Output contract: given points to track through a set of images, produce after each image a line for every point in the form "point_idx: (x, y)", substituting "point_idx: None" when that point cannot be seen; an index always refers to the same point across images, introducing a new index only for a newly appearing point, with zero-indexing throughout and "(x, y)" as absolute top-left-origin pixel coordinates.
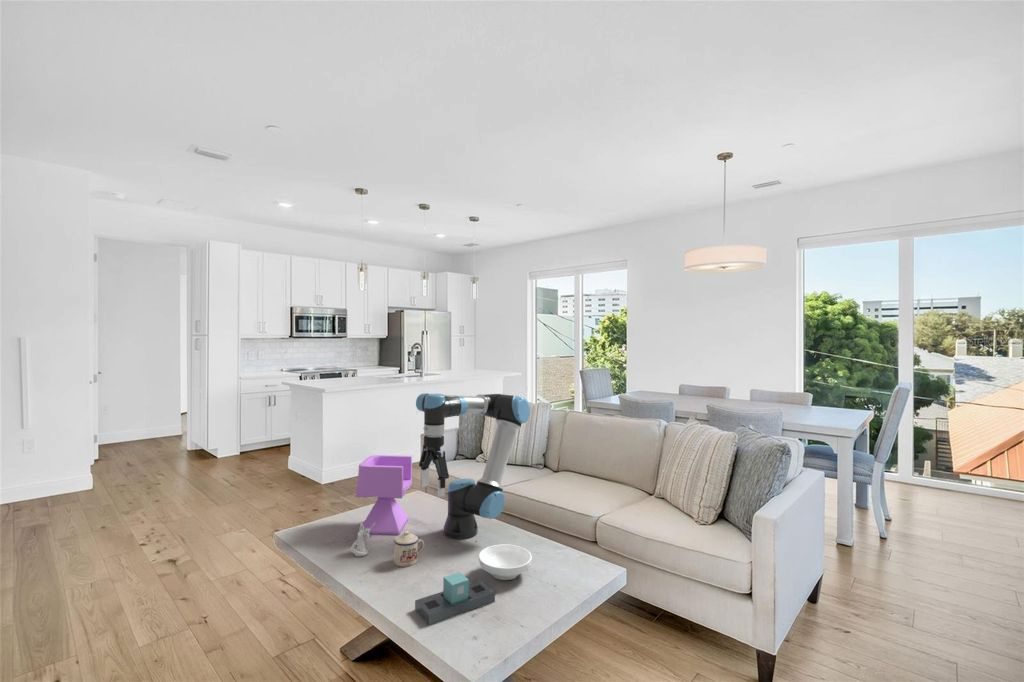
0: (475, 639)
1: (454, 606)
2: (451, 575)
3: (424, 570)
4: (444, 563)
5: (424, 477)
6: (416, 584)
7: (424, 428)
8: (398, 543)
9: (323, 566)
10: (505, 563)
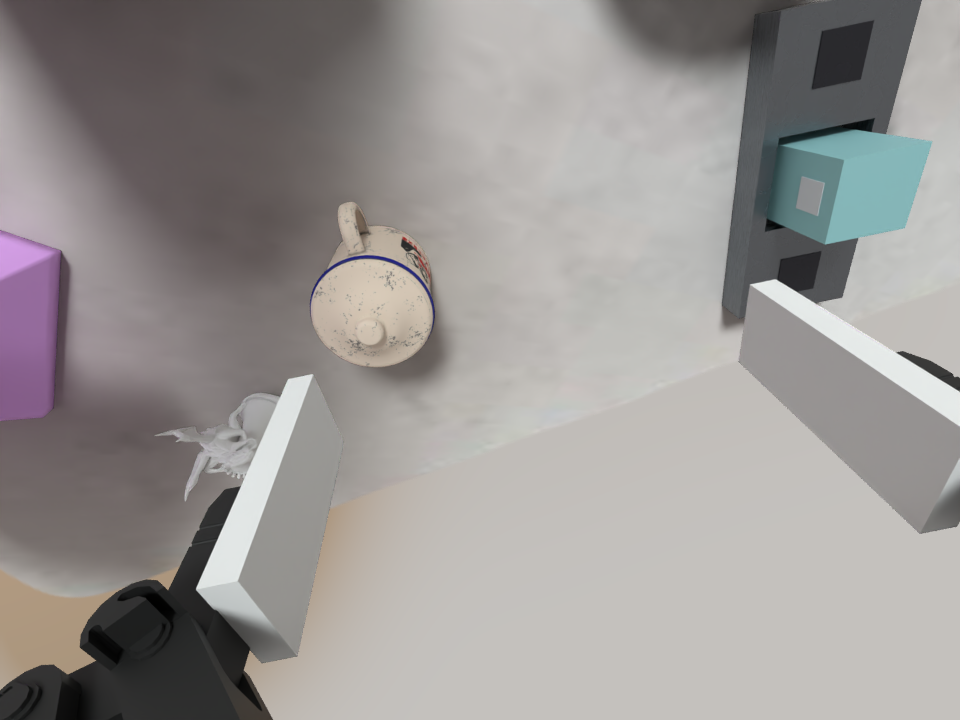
0: None
1: None
2: (840, 208)
3: (486, 215)
4: (455, 103)
5: (312, 518)
6: (579, 269)
7: None
8: (412, 355)
9: (340, 501)
10: None
